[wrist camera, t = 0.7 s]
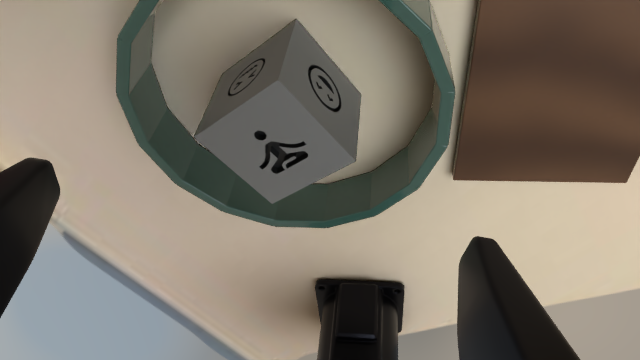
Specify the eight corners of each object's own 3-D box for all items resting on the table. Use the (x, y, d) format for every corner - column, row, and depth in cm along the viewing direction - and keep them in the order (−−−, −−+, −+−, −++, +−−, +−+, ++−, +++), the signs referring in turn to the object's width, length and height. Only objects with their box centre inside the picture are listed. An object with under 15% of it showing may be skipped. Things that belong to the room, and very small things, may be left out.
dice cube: (287, 137, 27) (272, 203, 24) (222, 73, 25) (193, 137, 21) (361, 94, 25) (355, 161, 21) (296, 18, 22) (278, 80, 19)
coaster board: (622, 175, 26) (626, 183, 26) (452, 173, 28) (453, 180, 27) (765, -120, 17) (774, -115, 16) (493, -104, 18) (495, -99, 18)
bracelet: (433, 192, 29) (436, 231, 27) (187, 187, 31) (172, 224, 29) (466, -91, 18) (476, -63, 16) (90, -70, 20) (54, -43, 18)
